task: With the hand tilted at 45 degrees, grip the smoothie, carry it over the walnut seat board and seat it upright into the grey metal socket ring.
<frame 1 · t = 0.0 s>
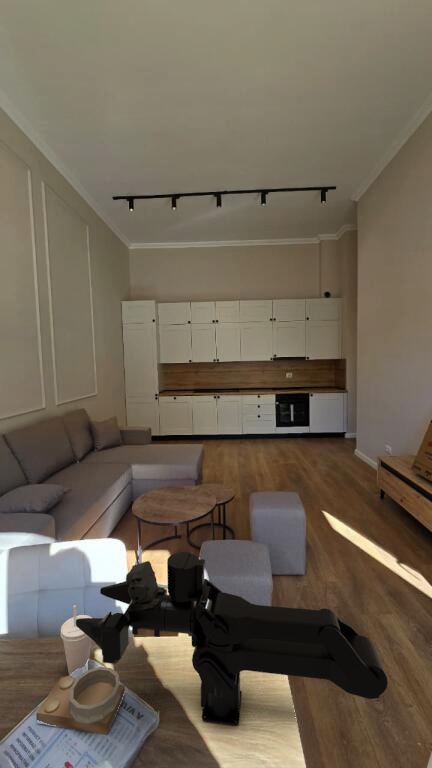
hand: (89, 605, 68), 17 cm above the table, tool horizontal, fingers open, 9 cm apart
smoothie: (78, 672, 73), on the table
seat board: (82, 708, 65), on the table
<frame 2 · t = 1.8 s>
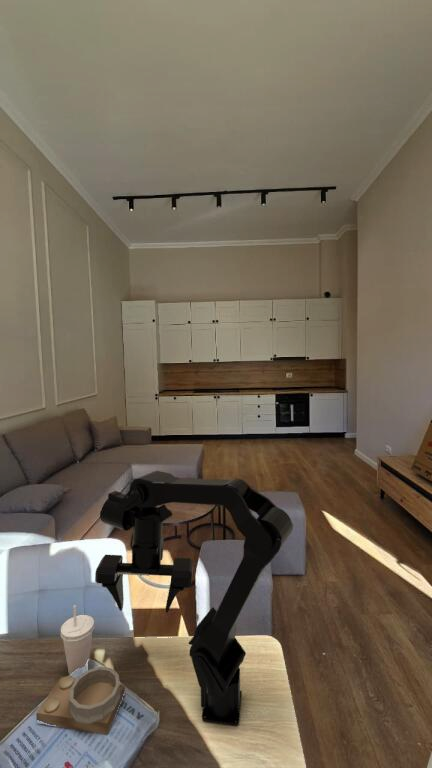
hand: (144, 610, 73), 12 cm above the table, tool pointing down, fingers open, 9 cm apart
nothing on the table moved.
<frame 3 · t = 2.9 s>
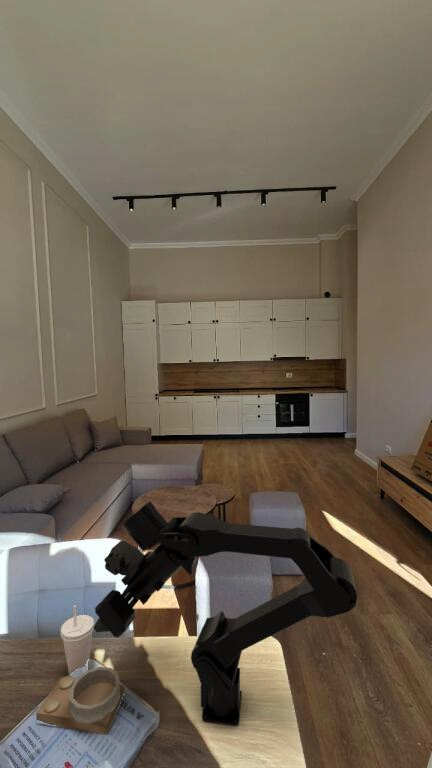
hand: (109, 613, 70), 13 cm above the table, tool tilted 45°, fingers open, 9 cm apart
nothing on the table moved.
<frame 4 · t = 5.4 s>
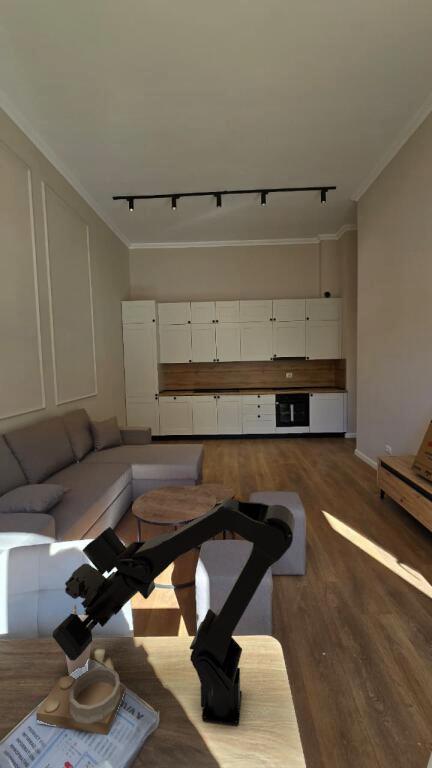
hand: (72, 633, 73), 8 cm above the table, tool tilted 45°, fingers closed on smoothie, 6 cm apart
smoothie: (78, 672, 73), on the table, touching gripper
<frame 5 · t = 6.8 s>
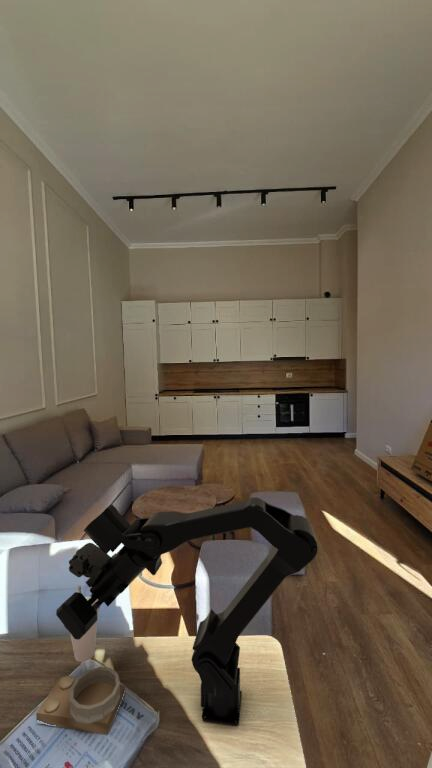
hand: (77, 615, 71), 13 cm above the table, tool tilted 45°, fingers closed on smoothie, 6 cm apart
smoothie: (85, 655, 71), point 5 cm above the table, touching gripper
when the fingers open (10 cm above the table, at t = 8.5 s): smoothie stays where it is, resting on seat board.
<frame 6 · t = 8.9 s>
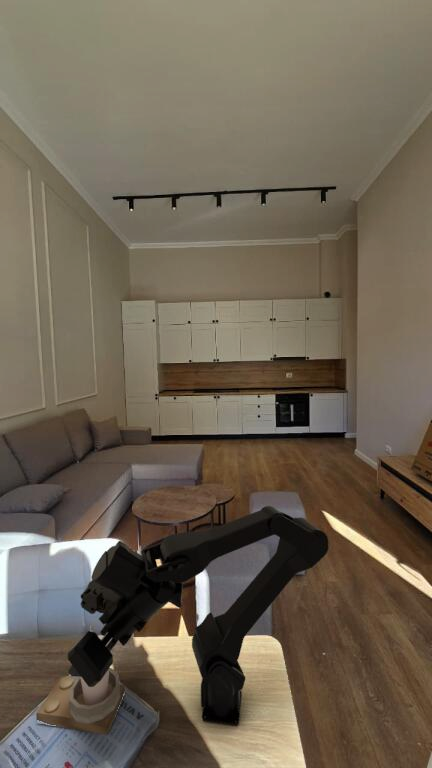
hand: (87, 652, 64), 11 cm above the table, tool tilted 45°, fingers open, 9 cm apart
smoothie: (95, 701, 64), point 2 cm above the table, touching seat board
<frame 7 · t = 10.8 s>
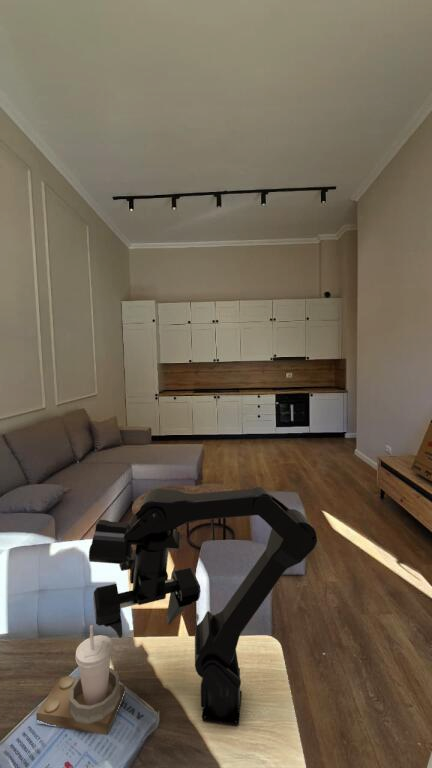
hand: (144, 628, 68), 12 cm above the table, tool tilted 15°, fingers open, 9 cm apart
nothing on the table moved.
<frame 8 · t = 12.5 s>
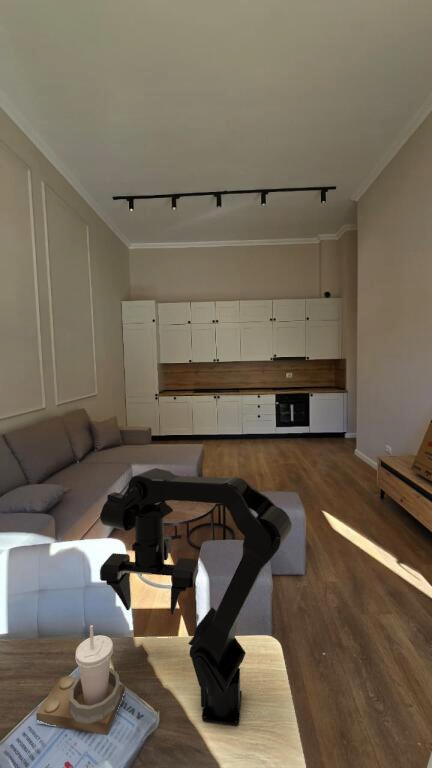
hand: (150, 611, 72), 13 cm above the table, tool pointing down, fingers open, 9 cm apart
nothing on the table moved.
at the end: smoothie 0.1 cm from the target spot on the seat board, point 1.8 cm above the seat board's base; smoothie tilted 0°; the gripper is holding nothing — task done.
